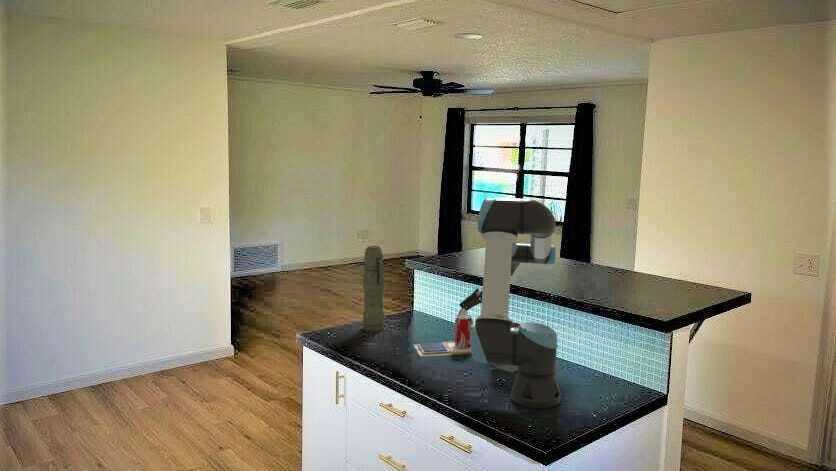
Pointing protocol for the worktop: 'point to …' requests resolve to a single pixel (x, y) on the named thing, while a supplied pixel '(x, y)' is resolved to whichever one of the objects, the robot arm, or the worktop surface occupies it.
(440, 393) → the worktop surface
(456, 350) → the orange bordered square plate
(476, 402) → the worktop surface
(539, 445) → the worktop surface
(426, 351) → the ink pad
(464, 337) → the soda can
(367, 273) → the thermos
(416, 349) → the blotter board
